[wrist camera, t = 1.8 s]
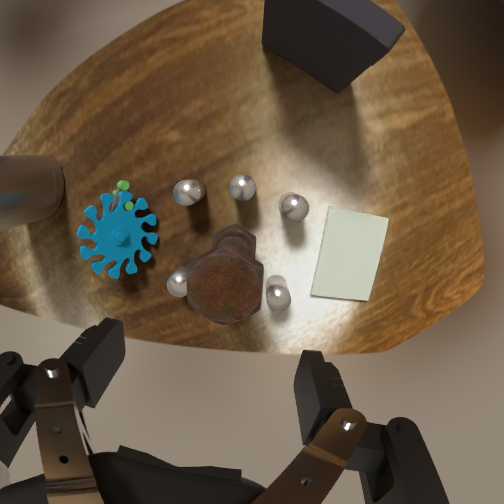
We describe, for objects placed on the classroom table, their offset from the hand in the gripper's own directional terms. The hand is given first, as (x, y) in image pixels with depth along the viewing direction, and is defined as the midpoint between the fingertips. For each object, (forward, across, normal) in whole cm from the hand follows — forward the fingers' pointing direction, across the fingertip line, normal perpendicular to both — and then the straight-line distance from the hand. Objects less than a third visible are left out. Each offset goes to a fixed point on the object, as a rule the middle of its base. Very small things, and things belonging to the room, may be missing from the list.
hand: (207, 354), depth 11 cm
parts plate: (+22, -14, 0) cm, 26 cm away
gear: (+22, +13, 0) cm, 26 cm away
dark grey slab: (+22, -5, -23) cm, 32 cm away
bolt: (+22, 0, 0) cm, 22 cm away
